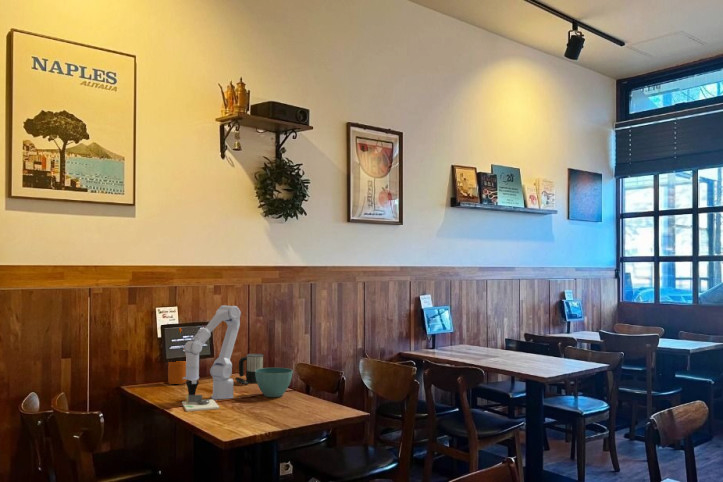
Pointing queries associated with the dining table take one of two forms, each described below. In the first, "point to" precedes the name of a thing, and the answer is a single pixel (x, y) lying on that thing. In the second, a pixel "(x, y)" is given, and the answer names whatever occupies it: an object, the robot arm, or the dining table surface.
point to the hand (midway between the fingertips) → (191, 397)
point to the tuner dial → (196, 399)
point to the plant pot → (273, 380)
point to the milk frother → (250, 368)
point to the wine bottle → (177, 371)
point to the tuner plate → (200, 406)
